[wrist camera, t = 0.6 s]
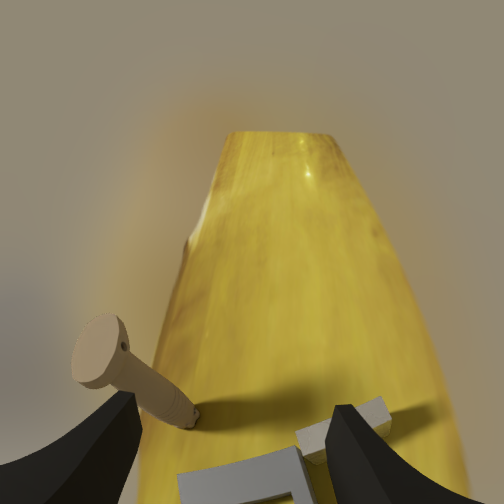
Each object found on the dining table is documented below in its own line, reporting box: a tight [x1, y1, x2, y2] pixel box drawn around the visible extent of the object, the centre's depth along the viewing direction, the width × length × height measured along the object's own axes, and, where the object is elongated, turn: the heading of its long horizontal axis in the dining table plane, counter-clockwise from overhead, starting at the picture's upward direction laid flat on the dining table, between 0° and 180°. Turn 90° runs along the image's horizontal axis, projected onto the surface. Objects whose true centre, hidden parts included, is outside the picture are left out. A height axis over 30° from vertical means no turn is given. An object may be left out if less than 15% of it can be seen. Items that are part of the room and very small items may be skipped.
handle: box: [71, 313, 200, 429], centre depth 26 cm, size 5×6×15 cm
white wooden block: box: [295, 396, 392, 465], centre depth 22 cm, size 2×7×6 cm, turn 102°
